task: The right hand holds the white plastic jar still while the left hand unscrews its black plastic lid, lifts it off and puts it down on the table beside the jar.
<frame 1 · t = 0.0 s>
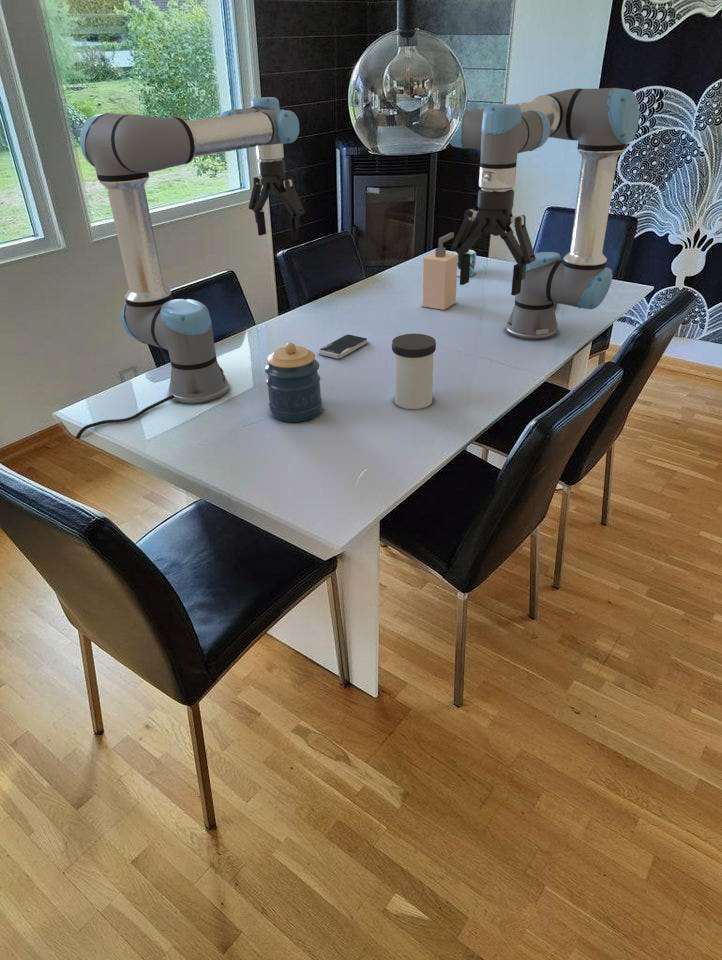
left hand: (278, 237, 202), 28 cm above the table, tool pointing down, fingers open, 13 cm apart
right hand: (489, 288, 153), 28 cm above the table, tool pointing down, fingers open, 13 cm apart
soap dispenser: (441, 303, 232), on the table
canister: (296, 411, 166), on the table
mug: (465, 272, 261), on the table
smartphone: (343, 349, 200), on the table
jar: (413, 400, 169), on the table
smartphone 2: (559, 291, 237), on the table
lid: (413, 342, 161), point 15 cm above the table, screwed on, not yet turned
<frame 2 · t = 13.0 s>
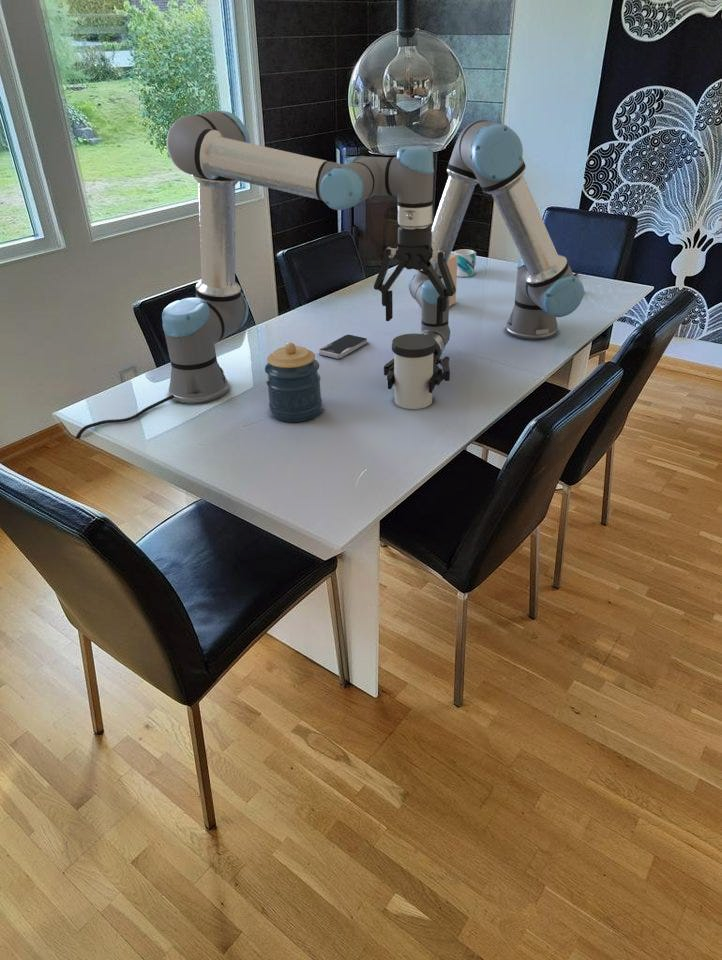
left hand: (414, 321, 158), 21 cm above the table, tool pointing down, fingers open, 12 cm apart
right hand: (409, 385, 162), 6 cm above the table, tool horizontal, fingers closed on jar, 9 cm apart
jar: (413, 400, 169), on the table, touching right hand
everything else where it was.
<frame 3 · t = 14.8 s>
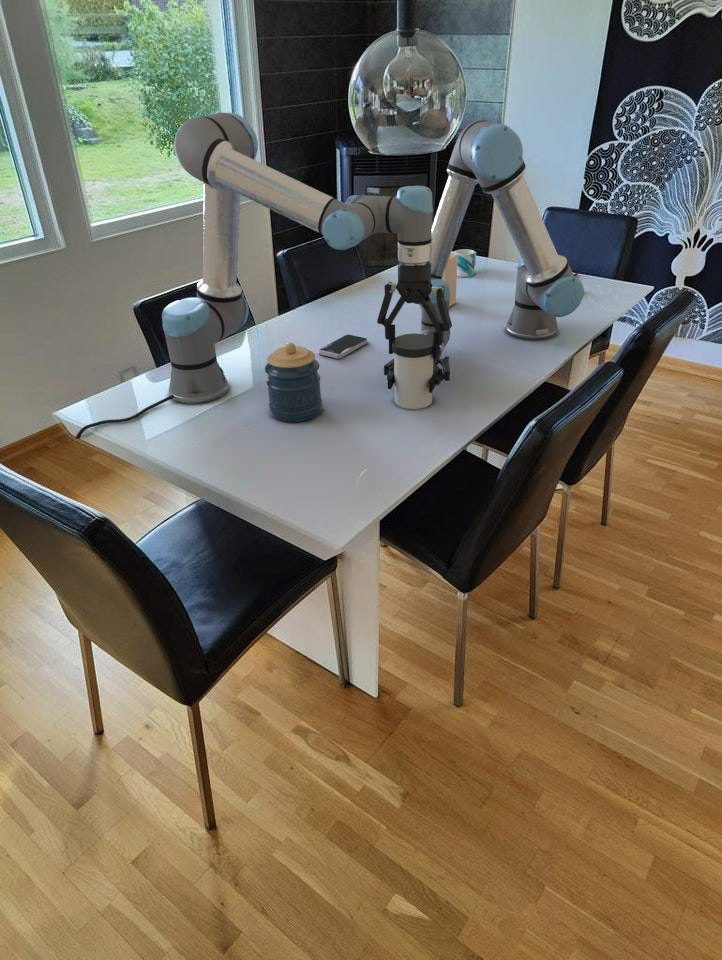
left hand: (413, 354, 162), 12 cm above the table, tool pointing down, fingers closed on lid, 10 cm apart
right hand: (409, 385, 162), 6 cm above the table, tool horizontal, fingers closed on jar, 9 cm apart
jar: (413, 400, 169), on the table, touching right hand
lid: (413, 342, 161), point 15 cm above the table, screwed on, not yet turned, touching left hand
everything else where it was.
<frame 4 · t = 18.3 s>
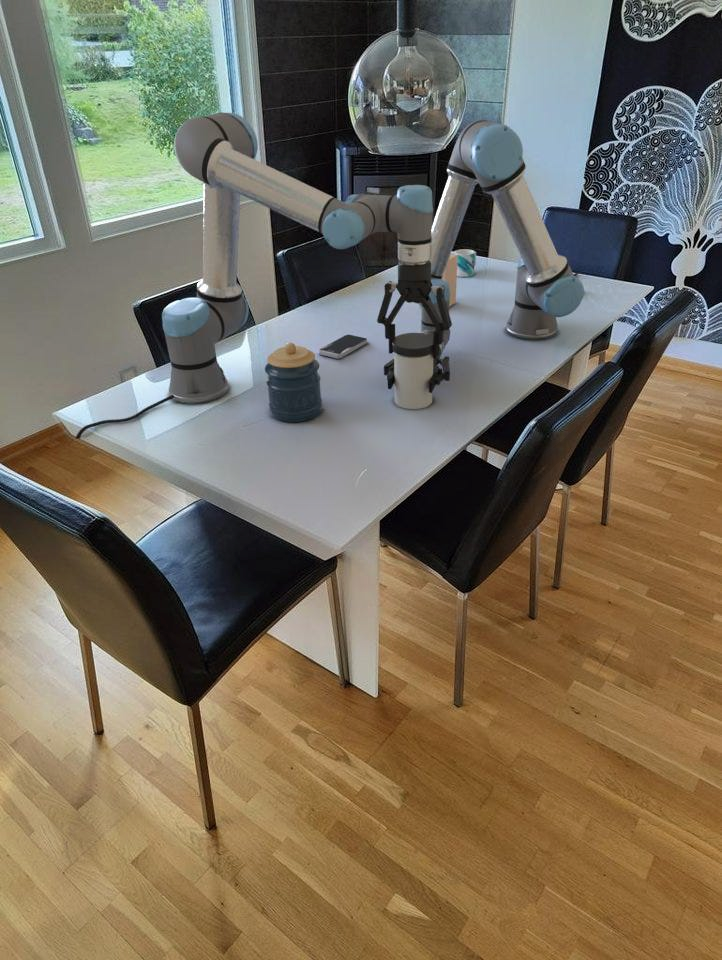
left hand: (413, 353, 162), 13 cm above the table, tool pointing down, fingers closed on lid, 10 cm apart
right hand: (409, 385, 162), 6 cm above the table, tool horizontal, fingers closed on jar, 9 cm apart
jar: (413, 400, 169), on the table, touching right hand
lid: (413, 341, 160), point 16 cm above the table, turned 119° so far, risen 0.2 cm, still on its thread, touching left hand
everything else where it was.
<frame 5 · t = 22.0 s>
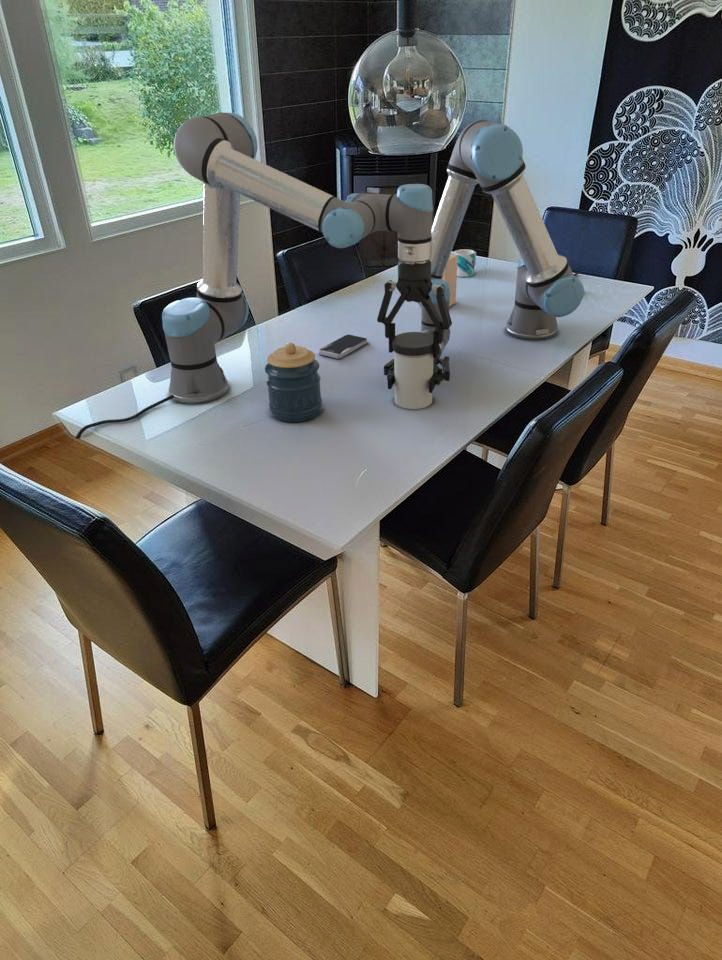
left hand: (413, 353, 162), 13 cm above the table, tool pointing down, fingers closed on lid, 10 cm apart
right hand: (409, 385, 162), 6 cm above the table, tool horizontal, fingers closed on jar, 9 cm apart
jar: (413, 400, 169), on the table, touching right hand
lid: (413, 341, 160), point 16 cm above the table, turned 237° so far, risen 0.4 cm, still on its thread, touching left hand
everything else where it was.
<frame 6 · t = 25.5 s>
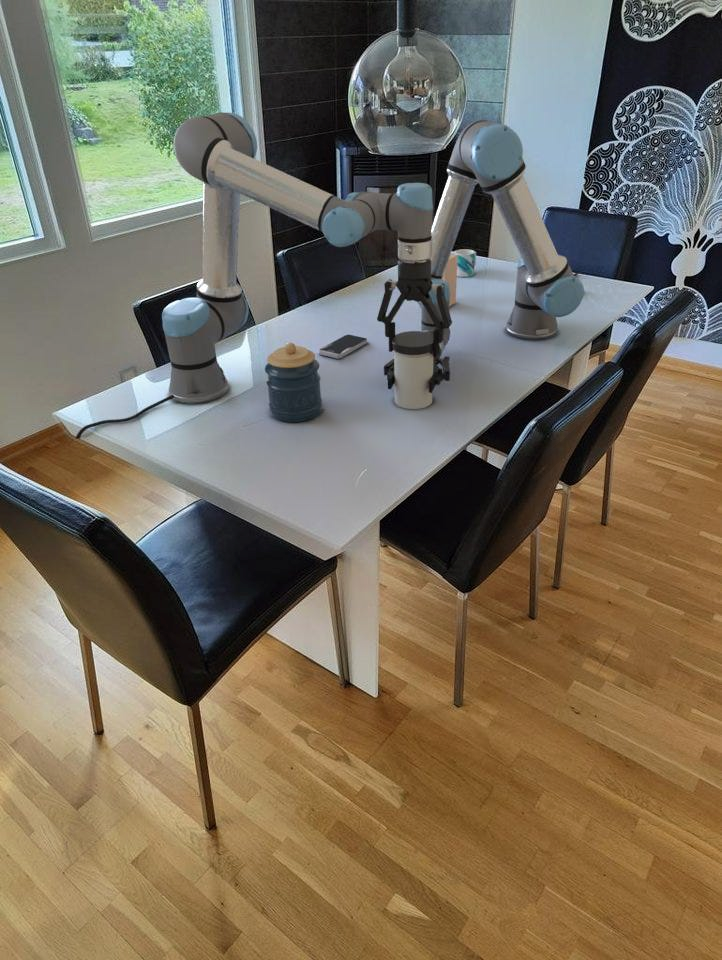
left hand: (413, 352, 162), 13 cm above the table, tool pointing down, fingers closed on lid, 10 cm apart
right hand: (409, 385, 162), 6 cm above the table, tool horizontal, fingers closed on jar, 9 cm apart
jar: (413, 400, 169), on the table, touching right hand
lid: (413, 340, 160), point 16 cm above the table, turned 355° so far, risen 0.6 cm, still on its thread, touching left hand
everything else where it was.
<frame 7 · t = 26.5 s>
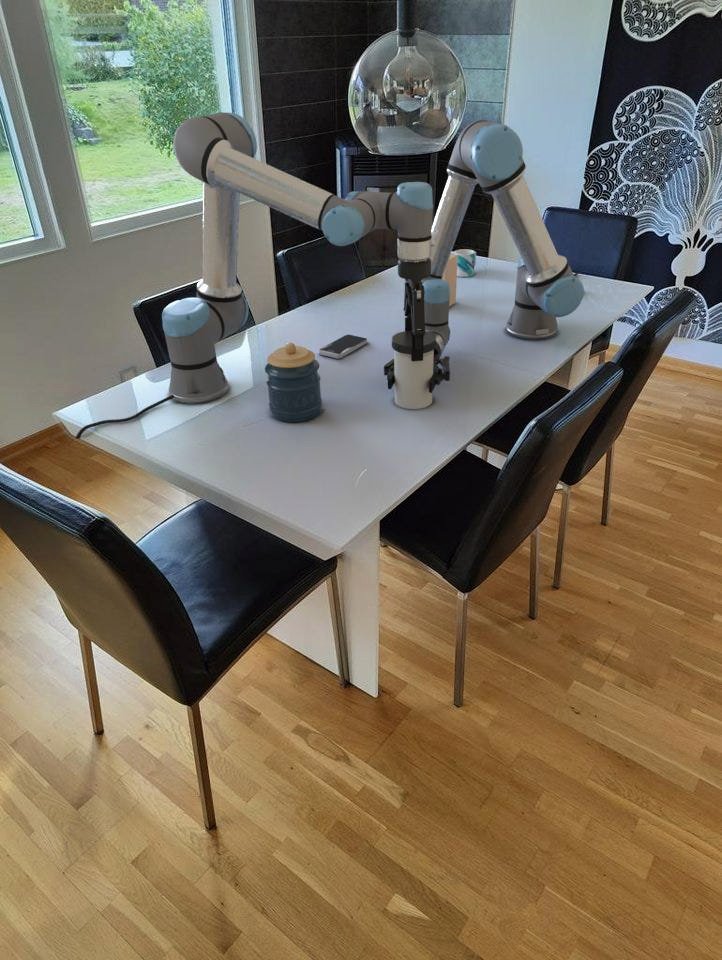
left hand: (413, 351, 162), 13 cm above the table, tool pointing down, fingers closed on lid, 10 cm apart
right hand: (409, 385, 162), 6 cm above the table, tool horizontal, fingers closed on jar, 9 cm apart
jar: (413, 400, 169), on the table, touching right hand
lid: (413, 339, 160), point 16 cm above the table, off its thread, touching left hand
everything else where it was.
when the left hand's fingers open (0 cm above the table, at t = 33.0 s): lid drops 2 cm, point 2 cm above the table.
when the right hand's fingers open (6 cm above the table, at t = 34.0 s): jar stays where it is, on the table.
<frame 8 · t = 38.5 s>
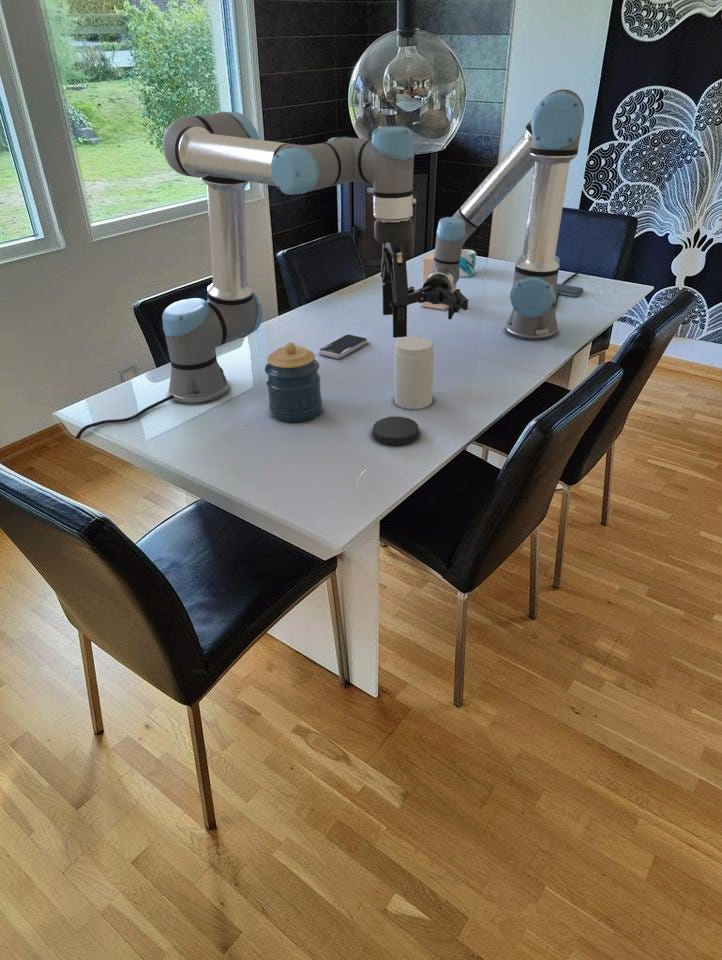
left hand: (394, 325, 140), 26 cm above the table, tool pointing down, fingers open, 13 cm apart
right hand: (422, 312, 167), 19 cm above the table, tool horizontal, fingers open, 13 cm apart
jar: (413, 400, 169), on the table
lid: (395, 428, 154), point 2 cm above the table, off its thread
everything else where it was.
at the end: lid came off its thread; lid point 1.7 cm above the table; the left hand is holding nothing; the right hand is holding nothing; jar tilted 0°; jar moved 0.0 cm from its start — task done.
